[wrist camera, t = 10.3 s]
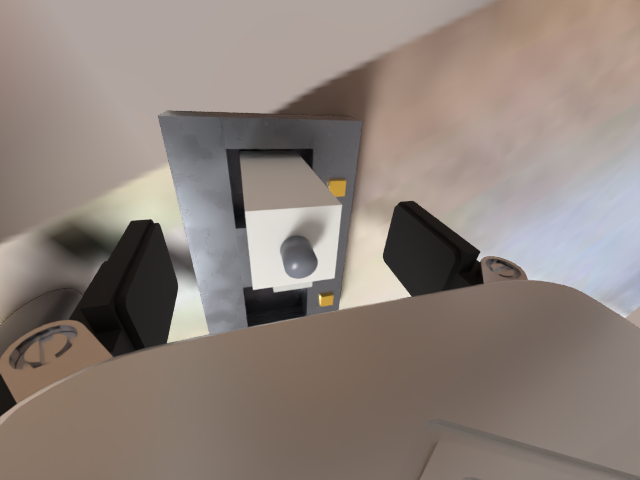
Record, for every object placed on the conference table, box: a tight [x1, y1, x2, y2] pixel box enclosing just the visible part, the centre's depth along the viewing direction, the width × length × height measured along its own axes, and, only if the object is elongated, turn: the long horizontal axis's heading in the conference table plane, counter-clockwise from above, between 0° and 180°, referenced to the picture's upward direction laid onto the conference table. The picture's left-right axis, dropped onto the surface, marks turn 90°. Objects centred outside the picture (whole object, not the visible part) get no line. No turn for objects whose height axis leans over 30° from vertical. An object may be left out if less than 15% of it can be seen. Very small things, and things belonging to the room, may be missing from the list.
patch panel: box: [158, 111, 363, 334], centre depth 22 cm, size 20×12×3 cm, turn 176°
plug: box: [239, 151, 342, 292], centre depth 16 cm, size 5×4×11 cm
